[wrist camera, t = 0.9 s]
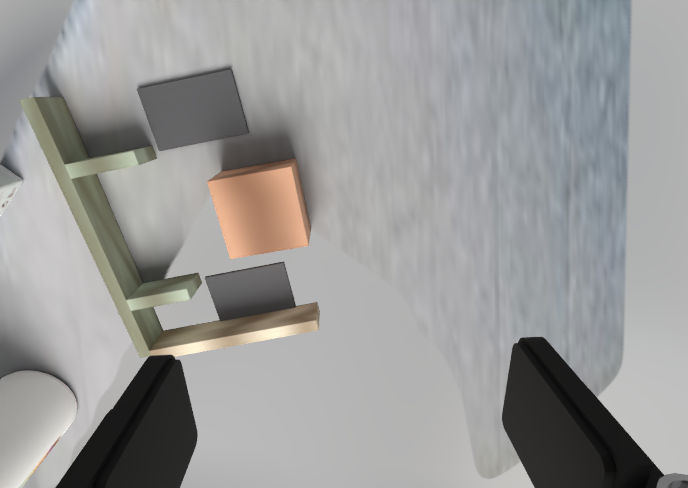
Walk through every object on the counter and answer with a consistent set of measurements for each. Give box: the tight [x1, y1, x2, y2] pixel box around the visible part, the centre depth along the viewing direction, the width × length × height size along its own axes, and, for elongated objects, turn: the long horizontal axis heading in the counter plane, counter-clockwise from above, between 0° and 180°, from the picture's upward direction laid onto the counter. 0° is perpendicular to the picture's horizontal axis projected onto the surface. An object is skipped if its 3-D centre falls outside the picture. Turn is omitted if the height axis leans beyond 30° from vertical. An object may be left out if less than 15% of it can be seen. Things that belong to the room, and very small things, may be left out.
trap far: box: [205, 262, 296, 322], centre depth 34 cm, size 7×4×1 cm, turn 101°
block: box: [207, 158, 311, 259], centre depth 30 cm, size 6×6×4 cm
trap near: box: [137, 69, 249, 151], centre depth 29 cm, size 7×4×1 cm, turn 101°
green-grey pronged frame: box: [20, 97, 320, 358], centre depth 30 cm, size 16×22×3 cm
